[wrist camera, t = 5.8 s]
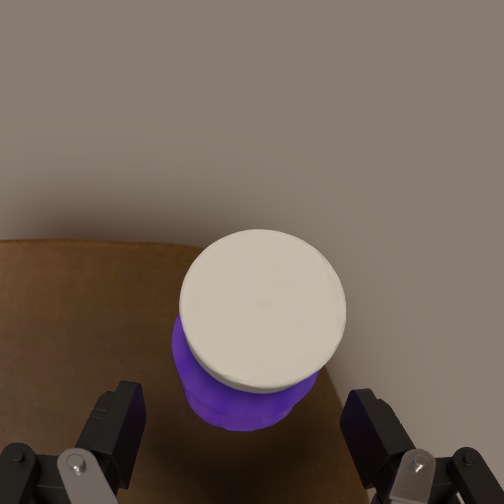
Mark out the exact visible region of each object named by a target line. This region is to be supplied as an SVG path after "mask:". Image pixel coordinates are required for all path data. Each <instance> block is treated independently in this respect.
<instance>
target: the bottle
mask: <svg viewBox="0 0 504 504" xmlns="http://www.w3.org/2000/svg"><path fill="white" fill-rule="evenodd" d="M179 310H180V312H179V314H178V316H177V319H176V322H175V325H174V329H173V334H172V351H173V356H174V360H175V364H176V367H177V370H178V373H179V376H180V378H181V379H182V382H183V387H184V390H185V395H186V398H187V401H188V403H189V405H190V407H191V408H192V409H193V411H194V412H195V413H196V414H197V415H198V416H199V417H200V418H201V419H203V420H204V421H205V422H207V423H209V424H211V425H213V426H219V427H223V428H225V429H226V430H232V431H254V430H256V429H262V428H266V427H269V426H272V425H274V424H275V423H277V422H279V421H280V420H281V419H283V418H284V417H286V416H287V415H288V414H289V412H290V411H291V409H292V408H293V406H294V405H295V404H296V403H298V402H299V401H300V400H301V399H302V398H303V397H304V396H305V395H306V394H307V393H308V392H309V390H310V389H311V388H312V386H313V384H314V382H315V379H316V377H317V375H318V373H319V370H320V368H322V367H323V366H324V365H325V364H326V363H327V362H328V361H329V359H330V358H331V356H332V355H333V353H334V352H335V350H336V349H337V347H338V345H339V343H340V341H341V338H342V336H343V332H344V329H345V324H346V300H345V295H344V291H343V288H342V285H341V283H340V280H339V278H338V276H337V274H336V273H335V271H334V270H333V268H332V267H331V265H330V263H329V262H328V261H327V260H326V259H325V257H324V256H323V255H322V254H321V253H320V252H319V251H317V250H316V249H315V248H313V247H312V246H311V245H309V244H308V243H306V242H305V241H303V240H301V239H299V238H297V237H294V236H291V235H289V234H285V233H283V232H278V231H274V230H262V229H256V230H245V231H241V232H237V233H233V234H231V235H228V236H226V237H224V238H221V239H219V240H218V241H216V242H214V243H213V244H211V245H210V246H209V247H207V248H206V249H205V250H204V251H203V252H202V253H201V254H200V255H199V256H198V257H197V258H196V260H195V261H194V262H193V264H192V265H191V267H190V268H189V270H188V272H187V274H186V276H185V279H184V282H183V285H182V288H181V293H180V303H179Z"/></svg>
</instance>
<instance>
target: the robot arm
mask: <svg viewBox="0 0 504 504" xmlns="http://www.w3.org/2000/svg"><path fill="white" fill-rule="evenodd" d="M145 424H146V408H145V403H144V397H143V391H142V386H141V384H140V383H134V382H128V381H120V383H119V385H118V387H117V389H116V391H115V392H111V391H107V392H106V393H104V394H103V395H102V396H101V397H100V398H98V400H97V402H96V404H95V406H94V410H92V412H91V414H90V418H88V420H87V422H86V424H85V427H84V429H83V431H82V433H81V435H80V437H79V439H78V441H77V443H76V445H75V447H74V448H70V449H67V450H65V451H63V452H62V453H61V454H60V455H59V456H49V455H37V454H35V453H34V452H33V450H32V449H31V448H30V447H29V446H28V445H26V444H23V443H12V444H10V445H8V446H6V447H5V448H4V450H3V451H2V453H1V455H0V504H120V503H119V501H118V499H117V498H116V495H117V491H118V488H122V489H127V490H128V487H129V483H130V479H131V475H132V471H133V467H134V464H135V460H136V456H137V452H138V449H139V445H140V442H141V438H142V435H143V431H144V428H145ZM340 428H341V431H342V434H343V436H344V439H345V441H346V444H347V446H348V449H349V451H350V454H351V456H352V459H353V461H354V464H355V466H356V469H357V471H358V474H359V476H360V479H361V482H362V484H363V487H364V489H365V490H366V489H370V488H374V487H375V489H376V491H377V492H376V494H375V495H374V497H373V499H372V502H371V504H461V503H460V501H459V499H458V497H457V495H456V494H457V493H458V492H459V493H460V495H461V497H462V499H463V501H464V503H465V504H504V491H503V490H502V488H501V487H500V485H499V483H498V481H497V480H496V478H495V477H494V475H493V473H492V472H491V470H490V469H489V467H488V466H487V464H486V462H485V461H484V459H483V458H482V456H481V455H480V453H479V452H478V451H476V450H475V449H473V448H470V447H463V448H460V449H459V450H457V451H456V452H455V454H454V455H453V456H452V457H445V458H434V457H433V456H432V455H431V454H430V453H429V452H427V451H425V450H422V449H416V448H415V446H414V444H413V442H412V441H411V439H410V438H409V436H408V434H407V433H406V431H405V429H404V428H403V426H402V424H400V421H399V420H398V418H397V417H396V416H395V413H394V412H393V410H392V408H391V407H390V406H389V405H388V404H387V403H386V402H384V401H383V400H382V399H376V397H375V395H374V394H373V392H372V390H370V389H369V388H367V389H358V390H351V391H350V393H349V395H348V398H347V401H346V404H345V406H344V409H343V412H342V414H341V418H340Z"/></svg>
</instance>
